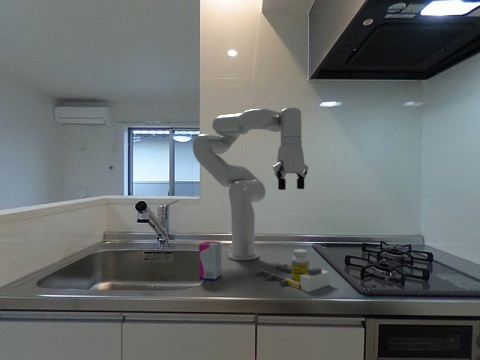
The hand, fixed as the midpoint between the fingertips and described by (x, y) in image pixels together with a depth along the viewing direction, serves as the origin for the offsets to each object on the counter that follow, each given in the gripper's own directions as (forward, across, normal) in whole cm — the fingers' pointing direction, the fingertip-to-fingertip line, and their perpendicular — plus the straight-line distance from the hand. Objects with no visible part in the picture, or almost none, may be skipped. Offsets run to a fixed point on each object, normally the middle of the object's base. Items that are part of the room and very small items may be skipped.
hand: (291, 189), depth 111 cm
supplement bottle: (+28, +10, +13) cm, 33 cm away
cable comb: (+28, +10, +9) cm, 31 cm away
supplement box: (+28, +30, -8) cm, 42 cm away
